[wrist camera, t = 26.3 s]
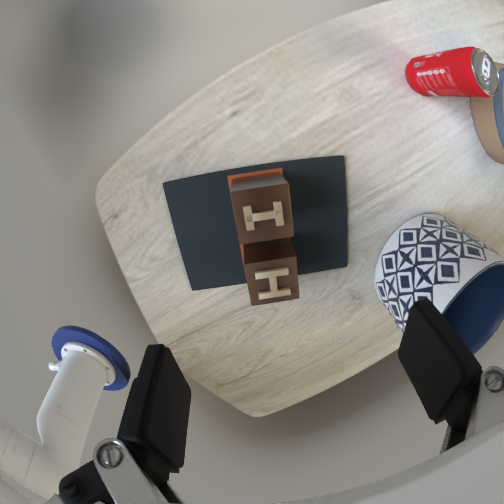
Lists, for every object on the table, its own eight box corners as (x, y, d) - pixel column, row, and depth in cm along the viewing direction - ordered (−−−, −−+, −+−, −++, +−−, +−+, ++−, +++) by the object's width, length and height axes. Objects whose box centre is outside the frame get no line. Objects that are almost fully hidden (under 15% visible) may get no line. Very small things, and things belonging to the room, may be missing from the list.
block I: (239, 222, 30) (239, 247, 24) (231, 178, 28) (229, 193, 22) (284, 215, 30) (295, 238, 24) (278, 171, 28) (289, 184, 22)
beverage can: (398, 84, 23) (467, 77, 13) (406, 51, 21) (471, 35, 11) (429, 103, 24) (498, 108, 14) (436, 72, 22) (502, 67, 11)
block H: (249, 276, 33) (251, 308, 28) (242, 238, 31) (243, 266, 25) (290, 269, 33) (300, 300, 27) (286, 232, 31) (297, 258, 25)
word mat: (192, 289, 34) (192, 291, 34) (163, 182, 28) (162, 183, 28) (345, 265, 34) (347, 267, 33) (342, 155, 28) (344, 156, 27)
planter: (460, 270, 36) (511, 320, 23) (389, 323, 39) (427, 389, 26) (443, 191, 30) (517, 232, 17) (355, 253, 33) (409, 326, 20)
